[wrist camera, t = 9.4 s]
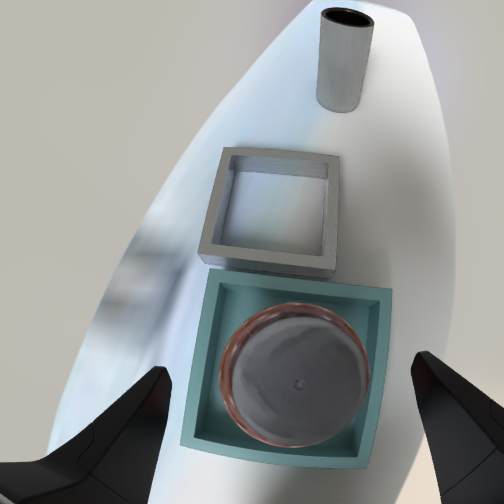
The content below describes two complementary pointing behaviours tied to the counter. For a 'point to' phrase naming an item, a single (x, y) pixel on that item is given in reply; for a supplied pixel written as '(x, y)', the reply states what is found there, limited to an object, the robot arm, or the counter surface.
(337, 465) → the bin
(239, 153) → the collar
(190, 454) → the counter surface
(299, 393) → the supplement bottle
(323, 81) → the grey hollow cylinder
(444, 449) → the robot arm
